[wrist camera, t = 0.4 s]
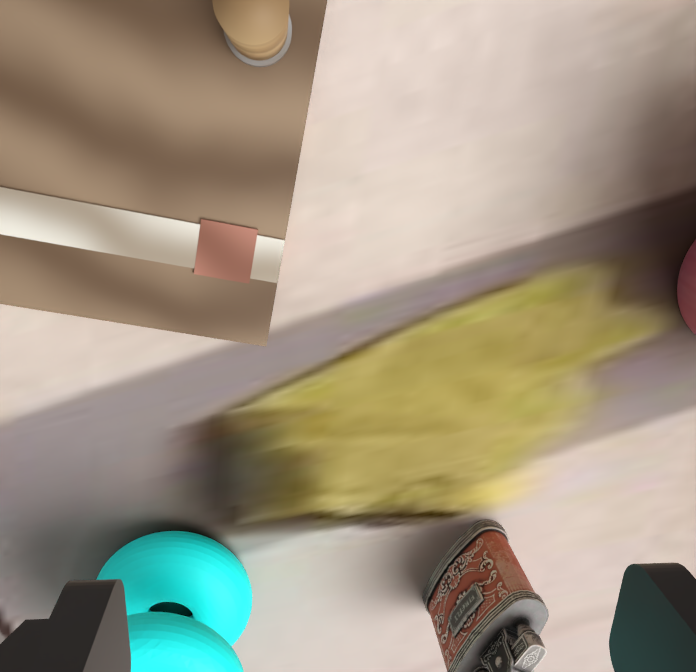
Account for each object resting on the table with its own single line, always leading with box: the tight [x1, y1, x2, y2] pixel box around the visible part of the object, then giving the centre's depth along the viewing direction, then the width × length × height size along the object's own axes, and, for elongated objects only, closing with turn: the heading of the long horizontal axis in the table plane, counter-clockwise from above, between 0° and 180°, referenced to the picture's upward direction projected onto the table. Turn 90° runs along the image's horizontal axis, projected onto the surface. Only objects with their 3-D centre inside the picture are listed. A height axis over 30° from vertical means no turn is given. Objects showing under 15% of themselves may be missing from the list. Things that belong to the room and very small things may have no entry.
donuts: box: [96, 531, 252, 672], centre depth 37 cm, size 10×10×10 cm
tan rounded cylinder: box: [212, 0, 292, 67], centre depth 27 cm, size 3×3×8 cm
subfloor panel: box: [0, 0, 327, 346], centre depth 32 cm, size 20×17×1 cm
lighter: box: [423, 520, 549, 672], centre depth 39 cm, size 8×3×10 cm, turn 149°
